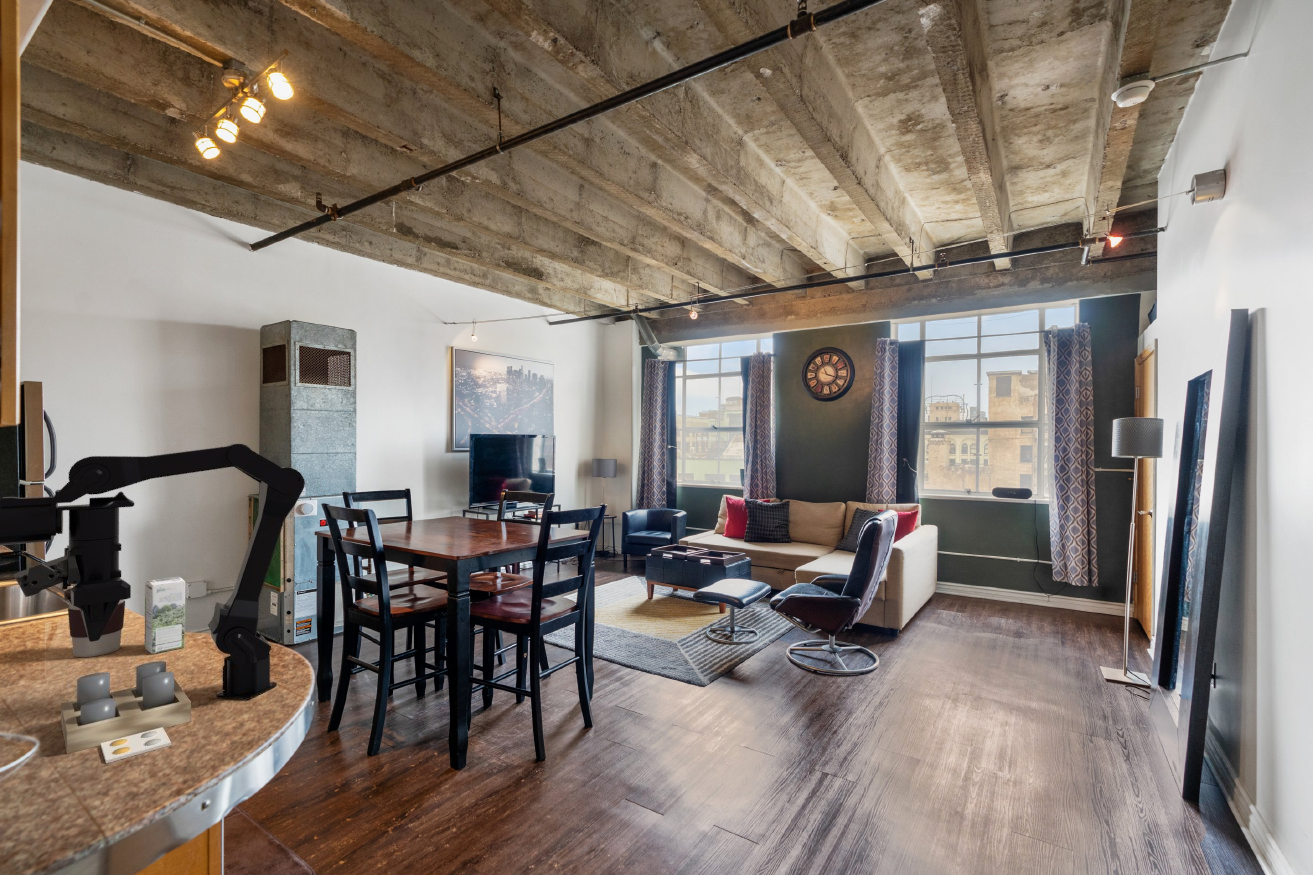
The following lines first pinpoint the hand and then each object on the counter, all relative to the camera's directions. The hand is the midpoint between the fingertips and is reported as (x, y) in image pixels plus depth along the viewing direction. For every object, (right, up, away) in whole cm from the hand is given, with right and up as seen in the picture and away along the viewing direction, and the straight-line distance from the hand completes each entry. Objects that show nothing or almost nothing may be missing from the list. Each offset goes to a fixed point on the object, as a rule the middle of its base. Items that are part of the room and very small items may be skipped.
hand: (94, 640), depth 96 cm
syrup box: (-18, -14, +36) cm, 43 cm away
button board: (+4, -13, +1) cm, 14 cm away
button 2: (+4, -12, -4) cm, 13 cm away
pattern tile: (+12, -13, -6) cm, 18 cm away
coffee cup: (-30, -14, +34) cm, 48 cm away
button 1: (-1, -10, +1) cm, 10 cm away
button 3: (+4, -10, +6) cm, 13 cm away
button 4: (+9, -10, +1) cm, 13 cm away
